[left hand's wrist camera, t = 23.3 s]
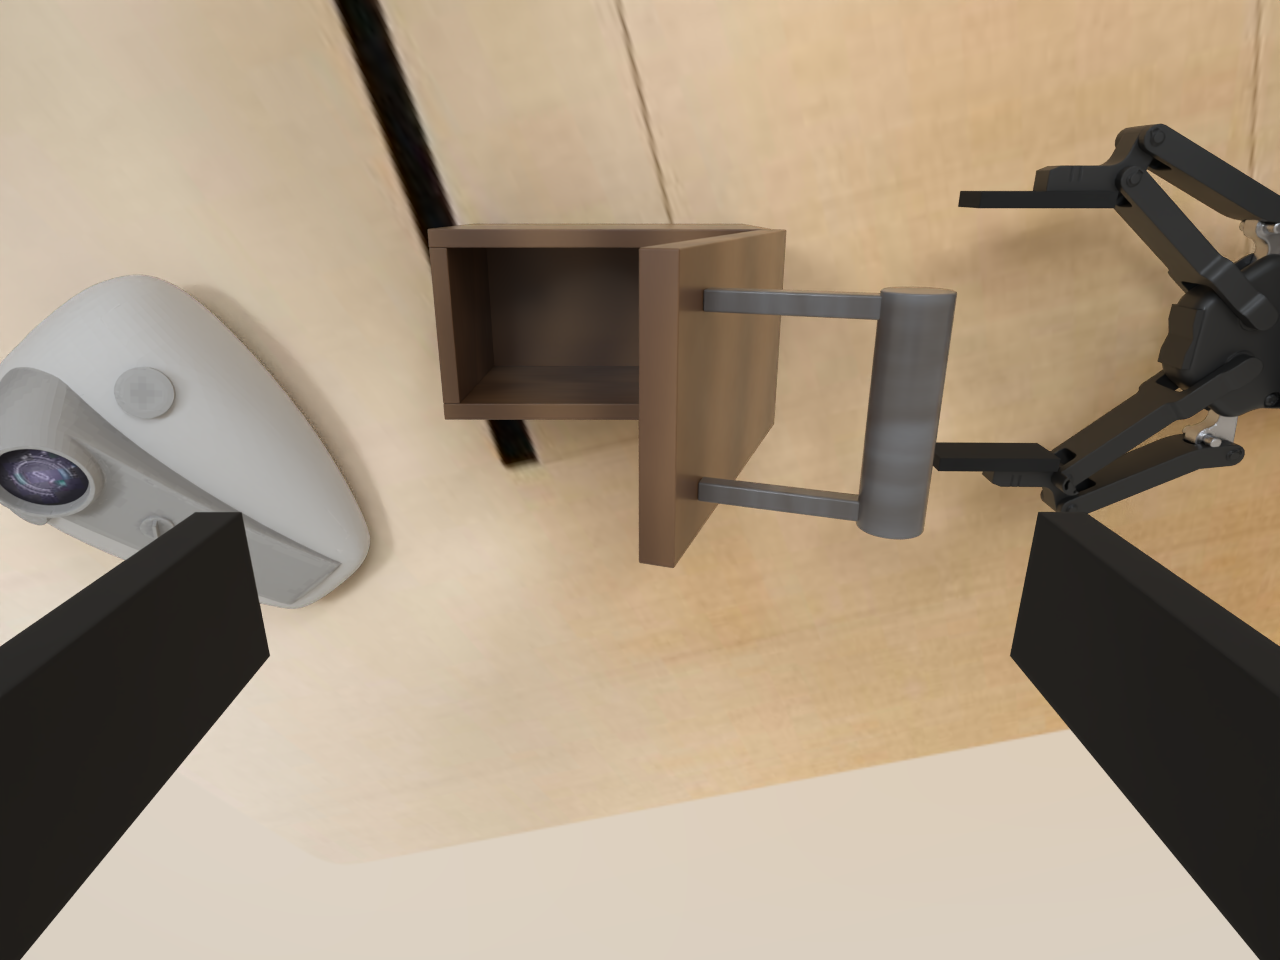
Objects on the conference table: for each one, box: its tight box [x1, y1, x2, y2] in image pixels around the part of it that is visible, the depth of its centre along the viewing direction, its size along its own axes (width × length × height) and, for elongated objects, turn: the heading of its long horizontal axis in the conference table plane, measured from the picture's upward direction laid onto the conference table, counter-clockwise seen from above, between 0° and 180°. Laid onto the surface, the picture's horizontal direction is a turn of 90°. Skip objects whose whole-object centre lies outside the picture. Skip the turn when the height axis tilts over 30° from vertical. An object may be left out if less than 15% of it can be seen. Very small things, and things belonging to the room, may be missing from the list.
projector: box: [0, 275, 370, 609], centre depth 45 cm, size 22×23×15 cm
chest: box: [428, 224, 767, 420], centre depth 44 cm, size 17×10×11 cm, turn 90°
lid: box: [639, 229, 957, 568], centre depth 29 cm, size 18×10×9 cm
